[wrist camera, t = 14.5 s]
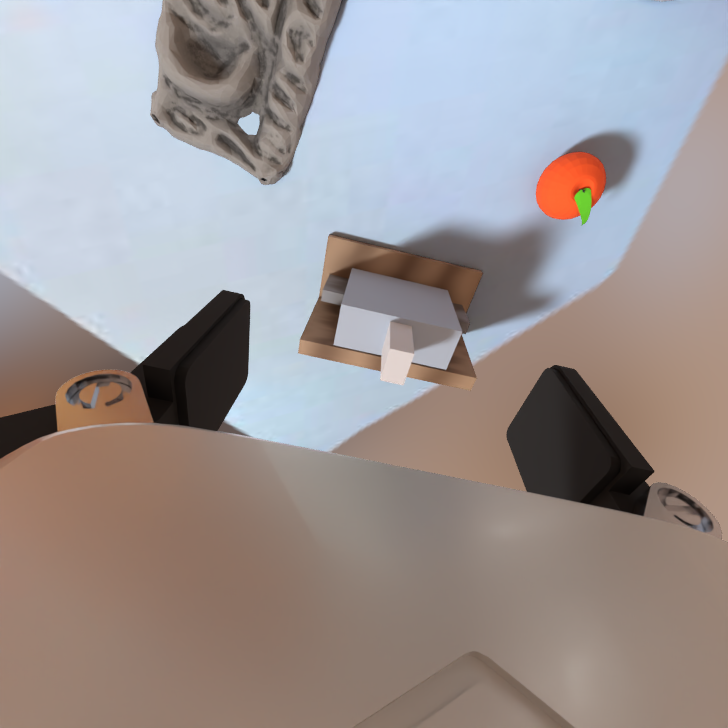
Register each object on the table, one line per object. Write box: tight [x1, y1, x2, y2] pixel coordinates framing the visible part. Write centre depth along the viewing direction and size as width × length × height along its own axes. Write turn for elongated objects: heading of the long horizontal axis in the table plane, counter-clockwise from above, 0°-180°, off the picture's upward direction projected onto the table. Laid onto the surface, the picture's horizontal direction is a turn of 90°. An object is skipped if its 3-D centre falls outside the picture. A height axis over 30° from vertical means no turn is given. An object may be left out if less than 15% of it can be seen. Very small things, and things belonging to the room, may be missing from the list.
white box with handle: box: [334, 268, 462, 385], centre depth 43 cm, size 14×5×18 cm, turn 78°
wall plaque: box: [150, 0, 341, 185], centre depth 36 cm, size 24×19×4 cm
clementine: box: [536, 152, 606, 225], centre depth 40 cm, size 8×7×7 cm
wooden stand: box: [298, 234, 483, 390], centre depth 46 cm, size 22×11×14 cm, turn 78°
